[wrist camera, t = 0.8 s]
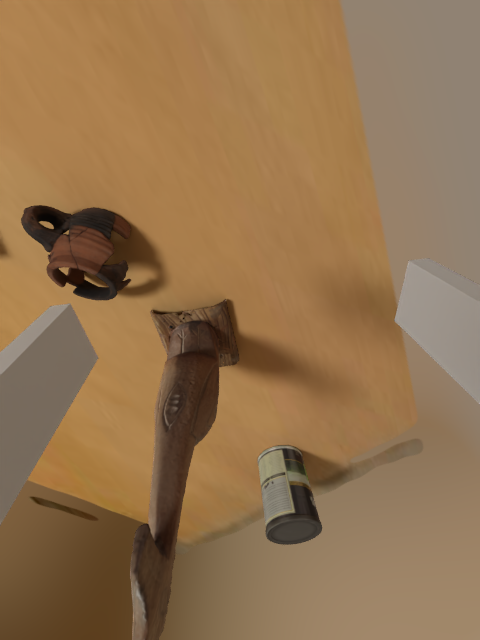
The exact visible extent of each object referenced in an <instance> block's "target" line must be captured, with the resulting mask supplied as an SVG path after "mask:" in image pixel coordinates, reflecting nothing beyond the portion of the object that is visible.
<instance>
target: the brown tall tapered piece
mask: <svg viewBox="0 0 480 640" xmlns="http://www.w3.org/2000/svg"><path fill="white" fill-rule="evenodd" d="M193 311H194V312H195V313H192V316H190V315H188V314H187V313H189V314H191V312H193ZM186 312H187V313H186ZM182 313H183V314H181V315H180V316H179V315H178V316H179V318H180V319H179V318H178V317H177V315H175V314H177V313H172V314H163V315H160V314H156V313H153V312H152V310H151V311H150V314H151V317H152V319H153V321H154V323H155V326H156V328H157V331H158V333H159V335H160V338H161V341H162V343H163V346H164V348H165V350H166V352H167V355H168V356H167V361H166V362H165V366H164V371H163V375H162V379H161V383H160V387H159V392H158V396H157V400H156V405H155V412H154V413H155V441H154V443H155V444H154V461H153V470H152V483H151V492H150V504H149V514H148V516H149V521H148V524H143V525H141V526H140V527H139V528H138V529H137V530H136V533H135V538H134V543H133V552H132V558H131V572H130V577H131V586H132V599H133V632H132V633H133V637H132V640H159V637H160V635H161V633H162V631H163V629H164V624H165V617H166V614H167V606H168V602H169V598H170V592H171V589H170V585H171V580H172V569H173V563H174V559H175V546H176V542H177V533H178V528H179V522H180V515H181V510H182V502H183V496H184V493H185V487H186V480H187V476H188V470H189V466H190V462H191V458H192V455H193V450H194V446H196V445H197V444H198V442H200V441H201V440H202V439H203V438H204V437H205V436H206V434H207V433H208V431H209V430H210V429H211V427H212V424H213V423H214V421H215V418H216V413H217V404H218V396H219V367H222V366H223V365H224V366H228V365H229V366H230V365H235V364H237V362H238V361H239V354H238V350H237V349H238V348H237V345H236V341H235V338H234V332H233V329H232V324H231V321H230V316H229V312H228V307H227V303H226V299H225V300H224V301H223V302H221V303H219V304H217V305H215V306H213V307H208V308H207V309H205V308H202V309H196V310H190V311H184V312H182ZM184 314H185V315H187V316H186V317H185V316H184ZM164 317H165V318H164ZM184 317H185V319H182V318H184ZM190 317H191V318H190ZM163 320H165V321H163ZM185 320H186V321H185ZM180 321H183V322H180ZM185 322H187V323H185ZM208 322H209V323H208ZM173 323H174V325H173ZM209 324H210V325H209ZM216 325H217V327H216ZM212 326H213V327H214V329H213V327H212ZM173 327H174V328H175V327H176V328H175V329H173ZM169 336H170V337H169ZM169 338H170V340H169ZM218 339H219V341H218ZM221 356H222V357H221ZM223 358H224V359H223ZM223 362H224V363H223ZM221 364H222V365H221Z"/></svg>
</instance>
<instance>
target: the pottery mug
mask: <svg viewBox="0 0 480 640" xmlns="http://www.w3.org/2000/svg"><path fill="white" fill-rule="evenodd" d="M40 221H47V222H50V223H51V224H52V225H53V226H54V229H49V228H46V227H44V226H43V225H41V224H40V223H39V222H40ZM21 222H22V225H23V228H24V229H25V231H26V232H27V233H28V234H29V235H30V236H31V237H32V238H34V239H35V240H36V241H38V242H39V243H41V244H42V245H43V246H44V248H45V250H46V251H47V252H51V253H50V255H48V259H49V262H50V263H49V264H48V266H47V273H48V276H49V277H50V278H51V279H52V280H53V281H54V282H55V283H56V284H57V285H59V286H60V287H64V286H65V284H66V282H67V283H69V284H71V285H73V286H76V287H77V288H76V289H75V290H74V291H73V293H74V294H76V295H78V296H81V297H84V298H87V299H92V300H109V299H113V298H114V297H115V296H116V295H117V291H119V290H121V289H123V288H124V287H125V286H127V285H128V284H129V282H130V281H131V279H127V280H125V281H123V280H124V278H125V276H126V272H127V270H128V265H127V262H126V261H125V260H123V261H121V262H120V263H119V264H115V265H103V264H104V263H105V262H106V261H107V260H108V259H109V257H110V256H111V255H112V254H113V253H114V245H113V244H112V242H111V241H110V240H109V239H110V238H111V231H112V230H114V231H115V232H117V233H118V234H120V235H121V236H122V237H123V238H125V239H127V238H128V237H129V235H130V229H131V227H130V225H129V224H128V223H127V222H126V221H124V220H123V219H122V218H120V217H119V216H117V215H115V214H114V213H112V212H109V211H107V210H104V209H100V208H87V209H83V210H82V211H80V212H78V213H76V214H73V215H71V214H67V213H64V212H61V211H59V210H57V209H55V208H52V207H48V206H42V205H39V206H31V207H29V208H25V210H24V214H23V217H22V218H21ZM68 230H69V235H67V234H63V233H65V232H66V231H68ZM61 267H70V268H69V270H68V275H65V274H64V273H63V272H61V271H60V270H59V269H58V268H61ZM84 271H86V272H88V273H91V274H93V275H96V276H97V277H98V278H100V279H101V280H103V281H104V282H105V283H106V284H107V285H108V286H109V287H98V286H96V285H94V284H92V283H90V282H88V281H86V280H84Z"/></svg>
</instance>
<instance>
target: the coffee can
mask: <svg viewBox="0 0 480 640" xmlns="http://www.w3.org/2000/svg"><path fill="white" fill-rule="evenodd" d="M258 466H259V474H260V482H261V491H262V499H263V507H264V515H265V523H266V537H267V539H269V540H270V541H272V542H274V543H278V544H297V543H302V542H306V541H308V540H311V539H313V538H315V537H316V536H317V535H319V534H320V533H321V531H322V525H321V522H320V520H319V517H318V513H317V510H316V505H315V502H314V498H313V494H312V491H311V487H310V483H309V480H308V476H307V472H306V469H305V465H304V461H303V458H302V453H301V452H300V450H299V449H297V448H295V447H292V446H287V445H280V446H274V447H271V448H269V449H267V450H265V451H263V452H262V453H261V454H260V456H259V457H258Z"/></svg>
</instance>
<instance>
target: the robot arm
mask: <svg viewBox="0 0 480 640" xmlns="http://www.w3.org/2000/svg"><path fill="white" fill-rule="evenodd" d="M394 321H395V322H396V323H397V324H398V325H399V326H400V327H401V328H402V329H403V330H404V331H405V332H407V334H408V335H409V336H410V337H411V338H413V339H414V340H415V341H416V342H417V343H418V344H419V345H420V346H421V347H422V348H423V349H424V350H425V351H426V352H427V353H428V354H429V355H430V356H431V357H432V358H433V359H434V360H435V361H436V362H437V363H438V364H439V365H440V366H441V367H442V368H443V369H444V370H445V371H446V372H447V373H448V374H449V375H450V376H451V377H452V378H453V379H454V380H455V381H456V382H458V384H460V385H461V386H462V387H463V388H464V389H465V390H466V391H467V392H468V393H469V394H470V395H471V396H472V397H473V398H474V399H475V400H476V401H477V402H478V403H479V404H480V285H479V284H478V283H476V282H474V281H472V280H470V279H468V278H466V277H464V276H462V275H460V274H458V273H456V272H454V271H452V270H450V269H449V268H447V267H444V266H443V265H440V264H439V263H437V262H435V261H433V260H431V259H429V258H427V259H419V260H410V261H409V262H408V266H407V270H406V274H405V278H404V283H403V287H402V291H401V295H400V299H399V304H398V308H397V312H396V316H395V320H394ZM97 359H98V356H97V354H96V352H95V351H94V349H93V347H92V345H91V343H90V341H89V339H88V337H87V335H86V333H85V331H84V329H83V327H82V325H81V323H80V321H79V319H78V317H77V316H76V314H75V312H74V310H73V308H72V306H71V304H64V305H56V306H50V307H49V308H48V309H47V310H46V311H45V312H44V313H43V314H42V315H41V316H40V317H38V318H37V319H36V320H35V321H34V322H33V323H32V324H31V325H30V326H29V327H28V328H27V329H25V330H24V331H23V332H22V333H21V334H20V335H19V336H18V337H17V338H16V339H15V340H13V341H12V342H11V343H10V344H9V345H8V346H7V347H6V348H5V349H4V350H3V351H2V352H0V525H1V523H2V521H3V520H4V518H5V516H6V514H7V513H8V511H9V509H10V508H11V506H12V504H13V503H14V501H15V499H16V498H17V496H18V494H19V492H20V491H21V489H22V487H23V486H24V484H25V482H26V480H27V479H28V477H29V475H30V474H31V472H32V470H33V469H34V467H35V465H36V463H37V462H38V460H39V458H40V457H41V455H42V453H43V451H44V450H45V448H46V446H47V445H48V443H49V441H50V440H51V438H52V436H53V434H54V433H55V431H56V429H57V428H58V426H59V424H60V422H61V421H62V419H63V417H64V416H65V414H66V412H67V411H68V409H69V407H70V405H71V404H72V402H73V400H74V399H75V397H76V395H77V394H78V392H79V390H80V388H81V387H82V385H83V383H84V382H85V380H86V378H87V376H88V375H89V373H90V371H91V370H92V368H93V366H94V365H95V363H96V361H97Z"/></svg>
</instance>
